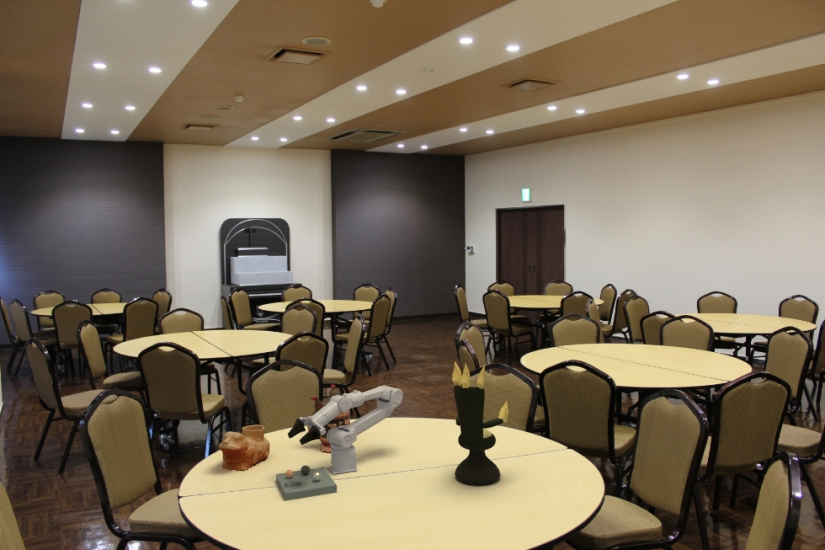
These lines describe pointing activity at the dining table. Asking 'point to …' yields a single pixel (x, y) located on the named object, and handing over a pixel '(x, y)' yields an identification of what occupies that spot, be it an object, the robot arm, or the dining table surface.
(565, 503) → the dining table surface
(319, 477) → the steel ball
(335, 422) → the beer stein
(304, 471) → the black ball
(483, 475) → the candelabra
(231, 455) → the ceramic vessel
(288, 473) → the terracotta ball
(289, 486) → the plate
